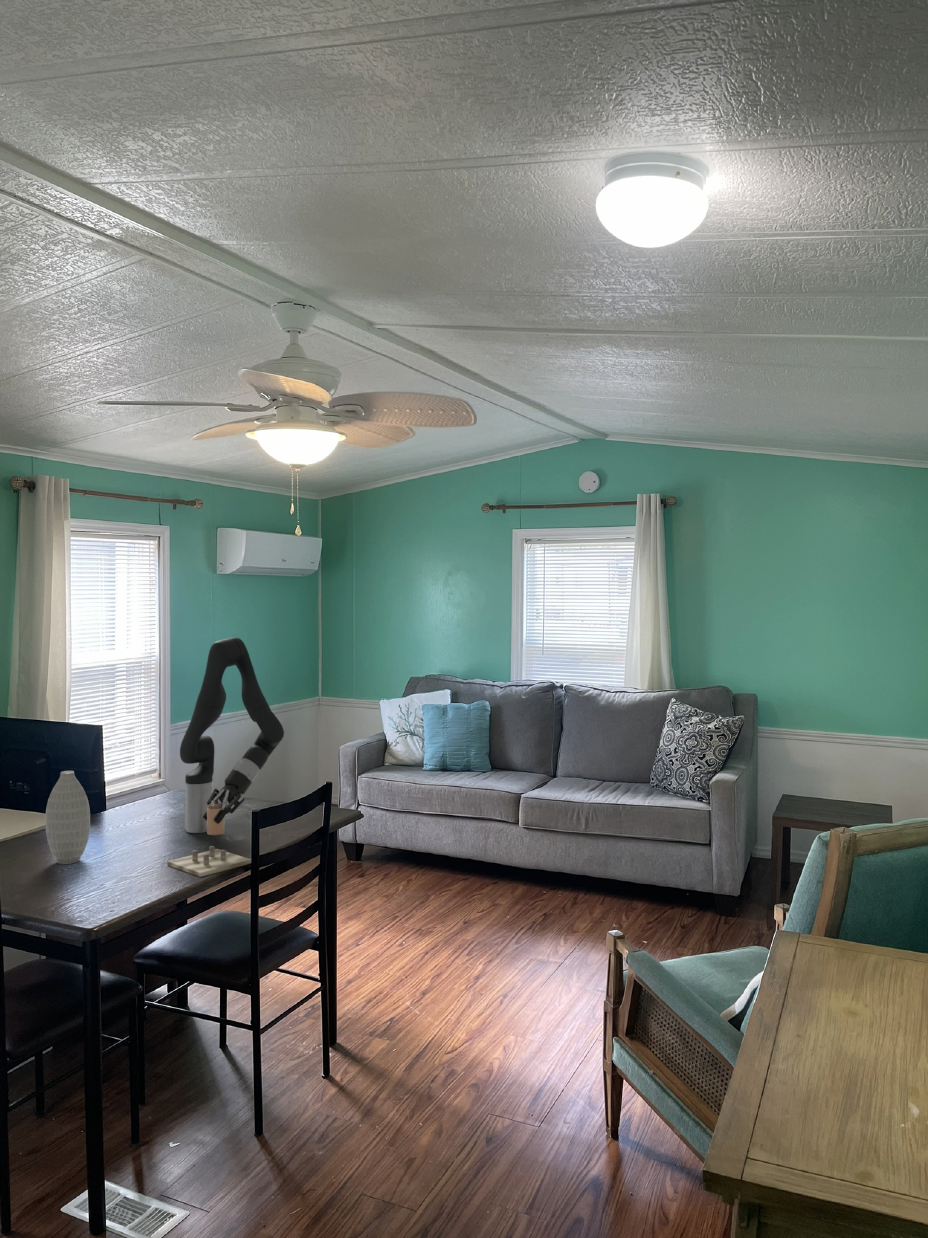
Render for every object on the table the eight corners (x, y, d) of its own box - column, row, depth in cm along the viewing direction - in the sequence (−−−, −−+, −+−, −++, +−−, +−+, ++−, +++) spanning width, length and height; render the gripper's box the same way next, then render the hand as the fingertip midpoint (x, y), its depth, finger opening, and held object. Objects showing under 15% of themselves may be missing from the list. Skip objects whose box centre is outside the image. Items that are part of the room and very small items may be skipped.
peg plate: (167, 865, 279) (167, 851, 279) (217, 852, 292) (217, 839, 292) (200, 877, 267) (200, 862, 267) (251, 863, 281) (251, 849, 281)
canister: (203, 833, 281) (203, 805, 281) (218, 829, 285) (217, 802, 285) (213, 836, 277) (213, 807, 277) (227, 832, 281) (227, 804, 281)
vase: (46, 858, 286) (45, 769, 286) (90, 854, 291) (89, 766, 291) (45, 869, 275) (44, 777, 274) (90, 864, 280) (89, 773, 279)
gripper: (222, 766, 291) (189, 810, 282) (249, 771, 282) (216, 817, 273) (236, 780, 295) (204, 824, 286) (263, 786, 286) (231, 831, 277)
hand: (210, 820), depth 280 cm, fingers closed on canister, 5 cm apart
